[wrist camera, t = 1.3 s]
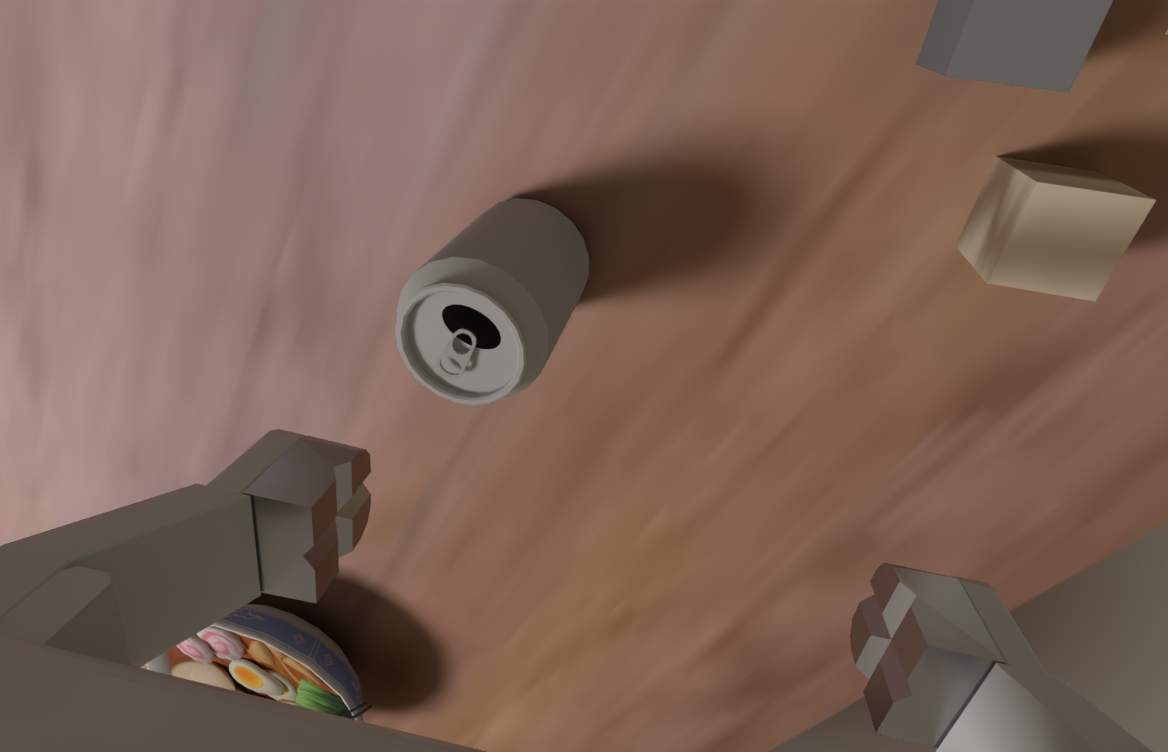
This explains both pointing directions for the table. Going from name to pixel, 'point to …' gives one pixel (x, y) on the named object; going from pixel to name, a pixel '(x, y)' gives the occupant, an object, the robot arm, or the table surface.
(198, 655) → the ramen bowl
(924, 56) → the grey block
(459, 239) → the can
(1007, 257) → the birch block
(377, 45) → the table surface
